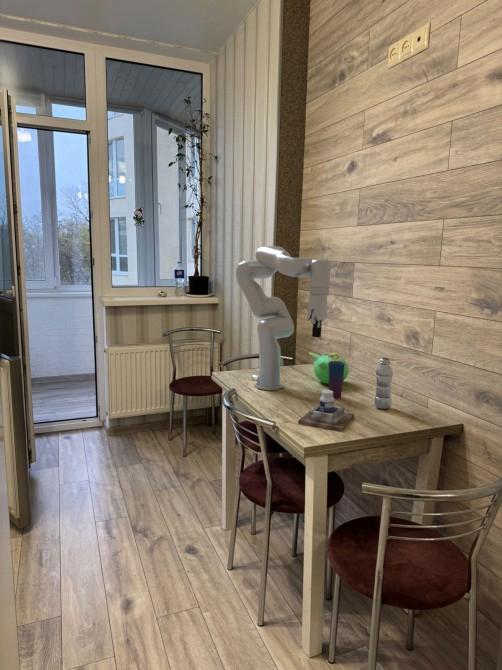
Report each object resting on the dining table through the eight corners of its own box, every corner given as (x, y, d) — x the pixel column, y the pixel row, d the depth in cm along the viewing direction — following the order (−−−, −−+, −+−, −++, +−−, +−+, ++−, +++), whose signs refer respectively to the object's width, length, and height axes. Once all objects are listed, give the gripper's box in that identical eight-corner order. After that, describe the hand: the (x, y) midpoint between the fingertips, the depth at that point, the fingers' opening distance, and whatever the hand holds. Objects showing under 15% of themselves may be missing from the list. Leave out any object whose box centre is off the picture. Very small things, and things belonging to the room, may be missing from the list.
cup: (343, 399, 198) (344, 364, 195) (326, 398, 199) (328, 364, 196) (343, 395, 204) (344, 361, 202) (327, 394, 206) (328, 360, 203)
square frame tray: (298, 423, 170) (298, 412, 169) (313, 410, 184) (313, 400, 183) (341, 431, 163) (341, 419, 162) (354, 417, 177) (354, 406, 176)
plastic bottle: (382, 411, 183) (385, 361, 180) (370, 406, 189) (372, 357, 186) (394, 409, 186) (397, 359, 183) (382, 404, 192) (385, 356, 189)
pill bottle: (317, 414, 176) (318, 389, 174) (331, 414, 176) (332, 389, 175) (321, 419, 171) (321, 393, 169) (335, 419, 171) (336, 393, 169)
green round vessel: (354, 387, 216) (355, 356, 213) (319, 389, 212) (320, 357, 209) (337, 377, 233) (338, 348, 230) (305, 379, 229) (306, 349, 226)
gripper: (317, 288, 193) (314, 332, 197) (302, 292, 181) (300, 338, 184) (334, 290, 190) (331, 335, 194) (321, 293, 177) (318, 341, 181)
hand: (316, 336), depth 189 cm, fingers closed
